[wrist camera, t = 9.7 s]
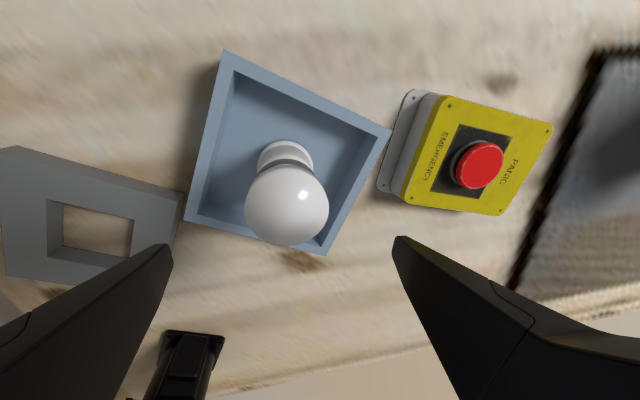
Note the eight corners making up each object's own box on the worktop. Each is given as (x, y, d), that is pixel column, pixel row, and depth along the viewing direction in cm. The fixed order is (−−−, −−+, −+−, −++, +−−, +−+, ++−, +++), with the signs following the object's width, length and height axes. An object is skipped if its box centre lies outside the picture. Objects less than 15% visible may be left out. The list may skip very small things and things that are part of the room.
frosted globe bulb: (300, 196, 21) (310, 253, 13) (251, 180, 19) (233, 234, 12) (319, 151, 19) (342, 189, 12) (268, 130, 18) (259, 158, 11)
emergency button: (437, 84, 15) (596, 130, 18) (405, 85, 19) (541, 123, 22) (390, 209, 19) (529, 228, 22) (371, 188, 23) (492, 207, 26)
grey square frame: (163, 286, 23) (156, 298, 22) (24, 262, 20) (5, 275, 19) (184, 193, 20) (177, 201, 18) (16, 145, 16) (-8, 150, 15)
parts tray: (320, 237, 24) (325, 256, 21) (196, 202, 20) (183, 219, 17) (377, 125, 19) (392, 131, 17) (233, 55, 16) (223, 48, 13)
